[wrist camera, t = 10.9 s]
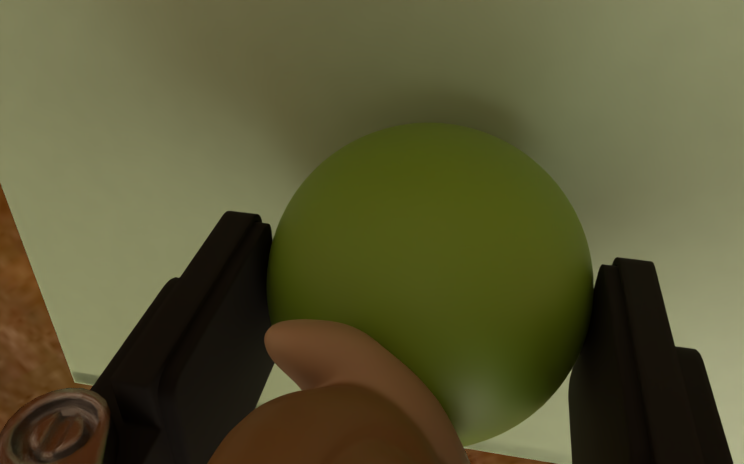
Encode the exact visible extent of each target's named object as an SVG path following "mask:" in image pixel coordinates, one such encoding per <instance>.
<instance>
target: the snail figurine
mask: <svg viewBox="0 0 744 464" xmlns="http://www.w3.org/2000/svg"><path fill="white" fill-rule="evenodd" d="M266 288H267V303H268V310H269V316H270V321H271V325H272V326H271V327H270V328H269V329H268V330H267V332H266V333H265V337H264V343H265V347H266V350H267V352H268V354H269V356H270V357H271V359H272V360H273V361H274V363H275V364H276V365H277V366H278V367H279V368H280V369H281V370H282V371H283V372H284V373H285V374H286V375H287V376H289V377H290V378H291V379H292V380H293V381H294V382H295V383H296V384H297V385H298V387H299V388H300V389H301V391H296V392H292V393H288V394H285V395H282V396H279V397H277V398H275V399H272V400H270V401H268V402H266V403H264V404H262V405H261V406H259V407H257V408H256V409H254V410H253V411H252V412H250V413H249V414H248V415H247V416H246V417H245V418H244V419H243V420H242V421H240V422H239V423H238V424H237V425H236V426H235V427H234V428H233V429H232V430H231V431H230V432H229V433H228V434H227V435H226V437H225V438H224V439H223V440H222V442H221V443H220V445H219V446H218V448H217V449H216V451H215V452H214V454H213V455H212V457H211V458H210V460H209V461H208V463H207V464H470V462H469V459H468V457H467V455H466V452H465V450H464V447H463V446H468V445H472V444H476V443H479V442H482V441H485V440H488V439H491V438H493V437H496V436H498V435H500V434H502V433H504V432H506V431H508V430H510V429H512V428H513V427H515V426H517V425H518V424H520V423H521V422H523V421H524V420H526V419H527V418H529V417H530V416H531V415H532V414H534V413H535V412H536V411H537V410H538V409H540V408H541V407H542V406H543V405H544V404H545V403H546V402H547V401H548V400H549V399H550V398H551V397H552V396H553V394H554V393H555V392H556V391H557V390H558V388H559V387H560V386H561V385H562V383H563V382H564V380H565V379H566V378H567V376H568V374H569V373H570V371H571V369H572V368H573V366H574V364H575V362H576V360H577V358H578V356H579V354H580V352H581V349H582V347H583V344H584V341H585V338H586V335H587V332H588V328H589V324H590V320H591V314H592V308H593V296H594V278H593V267H592V260H591V255H590V250H589V246H588V242H587V239H586V236H585V233H584V230H583V228H582V225H581V223H580V221H579V218H578V216H577V214H576V212H575V210H574V208H573V207H572V205H571V203H570V202H569V200H568V198H567V197H566V195H565V194H564V192H563V191H562V190H561V188H560V187H559V186H558V184H557V183H556V182H555V181H554V180H553V178H552V177H551V176H550V175H549V174H548V173H547V172H546V171H545V170H544V169H543V168H542V167H541V166H540V165H539V164H537V163H536V162H535V161H534V160H533V159H531V158H530V157H529V156H528V155H526V154H525V153H523V152H522V151H521V150H519V149H518V148H516V147H514V146H513V145H511V144H509V143H507V142H505V141H503V140H501V139H499V138H497V137H495V136H493V135H490V134H488V133H485V132H482V131H479V130H476V129H473V128H469V127H465V126H460V125H454V124H446V123H412V124H404V125H398V126H394V127H389V128H386V129H382V130H379V131H376V132H373V133H370V134H368V135H365V136H363V137H361V138H359V139H357V140H355V141H353V142H351V143H349V144H347V145H346V146H344V147H342V148H341V149H339V150H338V151H336V152H335V153H334V154H332V155H331V156H330V157H328V158H327V159H326V160H325V161H323V162H322V163H321V164H320V165H319V166H318V167H317V168H316V169H315V170H314V171H313V172H312V173H311V174H310V175H309V176H308V177H307V178H306V179H305V181H304V182H303V183H302V184H301V185H300V187H299V188H298V189H297V191H296V192H295V194H294V195H293V197H292V198H291V200H290V202H289V203H288V205H287V207H286V209H285V211H284V213H283V215H282V217H281V219H280V221H279V224H278V226H277V229H276V232H275V235H274V238H273V241H272V245H271V249H270V254H269V260H268V267H267V284H266Z"/></svg>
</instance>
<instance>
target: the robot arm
mask: <svg viewBox="0 0 744 464" xmlns="http://www.w3.org/2000/svg"><path fill="white" fill-rule="evenodd" d="M272 241H273V239H272V230H271V226H270V224H268V223H262V219H261V217H260V215H258V214H253V213H245V212H237V211H226V212H225V213H224V214H223V216H222V217H221V218H220V220H219V221H218V223H217V224H216V226H215V227H214V229H213V230H212V232H211V233H210V234H209V236H208V237H207V239H206V240H205V242H204V243H203V245H202V246H201V247H200V249H199V250H198V252H197V253H196V255H195V256H194V258H193V259H192V260H191V262H190V263H189V265H188V266H187V268H186V269H185V271H184V272H183V274H182V275H181V276H180V278H178V277H174V278H172V279H170V280H169V281H168V282H167V283H166V284H165V285H164V286H163V288H162V289H161V291H160V292H159V294H158V295H157V296H156V298H155V299H154V301H153V302H152V303H151V305H150V306H149V308H148V309H147V310H146V312H145V313H144V315H143V316H142V317H141V319H140V320H139V322H138V323H137V325H136V326H135V327H134V329H133V330H132V332H131V333H130V334H129V336H128V337H127V339H126V340H125V341H124V343H123V344H122V346H121V347H120V348H119V350H118V351H117V353H116V354H115V356H114V357H113V358H112V360H111V361H110V363H109V364H108V365H107V367H106V368H105V370H104V371H103V372H102V374H101V375H100V377H99V378H98V379H97V381H96V382H95V384H94V385H93V387H92V388H91V389H90V390H87V389H84V388H66V389H61V390H56V391H51V392H49V393H46V394H44V395H41V396H39V397H37V398H35V399H33V400H32V401H30V402H28V403H27V404H25V405H24V406H22V407H21V408H20V409H19V410H18V411H17V412H16V413H15V414H14V415H13V416H12V417H11V418H10V419H9V420H8V421H7V423H6V424H5V426H4V428H3V429H2V431H1V433H0V464H207V463H208V461H209V460H210V458H211V457H212V455H213V454H214V452H215V451H216V449H217V448H218V446H219V445H220V443H221V442H222V440H223V439H224V438H225V437H226V435H227V434H228V433H229V432H230V431H231V430H232V429H233V428H234V427H235V426H236V425H237V424H238V423H239V422H240V421H242V420H243V419H244V418H245V417H246V416H247V415H248V414H249V413H250V412H252V411H253V410H254V409H255V408H256V405H257V403H258V401H259V398H260V396H261V394H262V391H263V389H264V387H265V384H266V382H267V380H268V377H269V375H270V373H271V370H272V368H273V366H274V361H273V360H272V359H271V357H270V356H269V354H268V352H267V350H266V347H265V343H264V337H265V333H266V332H267V330H268V329H269V328H270V327H271V326H272V325H271V321H270V316H269V310H268V303H267V288H266V284H267V267H268V260H269V254H270V249H271V245H272ZM568 404H569V421H570V437H571V454H572V464H734V463H733V460H732V457H731V453H730V450H729V446H728V443H727V440H726V436H725V433H724V429H723V426H722V423H721V419H720V416H719V412H718V409H717V406H716V402H715V399H714V395H713V392H712V389H711V385H710V382H709V378H708V375H707V372H706V368H705V365H704V361H703V359H702V357H701V354H700V353H699V352H698V351H697V350H696V349H692V348H684V347H677V346H675V344H674V340H673V336H672V332H671V328H670V324H669V320H668V316H667V312H666V308H665V304H664V300H663V296H662V292H661V288H660V284H659V280H658V276H657V272H656V268H655V265H654V263H653V262H652V261H645V260H637V259H629V258H621V257H616V258H615V259H614V261H613V263H612V265H605V264H602V265H601V266H600V268H599V271H598V275H597V278H596V282H595V286H594V296H593V308H592V314H591V320H590V324H589V328H588V332H587V335H586V338H585V341H584V344H583V347H582V349H581V352H580V354H579V356H578V358H577V360H576V362H575V364H574V366H573V368H572V372H571V376H570V380H569V389H568Z"/></svg>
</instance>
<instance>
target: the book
mask: <svg viewBox="0 0 744 464" xmlns="http://www.w3.org/2000/svg"><path fill="white" fill-rule="evenodd" d="M412 123H446V124H454V125H460V126H465V127H469V128H473V129H476V130H479V131H482V132H485V133H488V134H490V135H493V136H495V137H497V138H499V139H501V140H503V141H505V142H507V143H509V144H511V145H513V146H514V147H516V148H518V149H519V150H521V151H522V152H523V153H525V154H526V155H528V156H529V157H530V158H531V159H533V160H534V161H535V162H536V163H537V164H539V165H540V166H541V167H542V168H543V169H544V170H545V171H546V172H547V173H548V174H549V175H550V176H551V177H552V178H553V180H554V181H555V182H556V183H557V184H558V186H559V187H560V188H561V190H562V191H563V192H564V194H565V195H566V197H567V198H568V200H569V202H570V203H571V205H572V207H573V208H574V210H575V212H576V214H577V216H578V218H579V221H580V223H581V225H582V228H583V230H584V233H585V236H586V239H587V242H588V246H589V250H590V255H591V260H592V267H593V278H594V286H595V282H596V278H597V275H598V271H599V268H600V266H601V265H602V264H605V265H612V263H613V261H614V259H615V258H616V257H621V258H629V259H637V260H645V261H652V262H653V263H654V265H655V268H656V272H657V276H658V280H659V284H660V288H661V292H662V296H663V300H664V304H665V308H666V312H667V316H668V320H669V324H670V328H671V332H672V336H673V340H674V344H675V346H677V347H684V348H692V349H696V350H697V351H698V352H699V353H700V354H701V357H702V359H703V361H704V365H705V368H706V372H707V375H708V378H709V382H710V385H711V389H712V392H713V395H714V399H715V402H716V406H717V409H718V412H719V416H720V419H721V423H722V426H723V429H724V433H725V436H726V440H727V443H728V446H729V450H730V453H731V457H732V460H733V463H734V464H744V0H0V183H1V186H2V189H3V191H4V194H5V197H6V199H7V202H8V205H9V207H10V210H11V213H12V215H13V218H14V221H15V223H16V226H17V229H18V232H19V234H20V237H21V240H22V242H23V245H24V248H25V250H26V253H27V256H28V258H29V261H30V264H31V266H32V269H33V272H34V274H35V277H36V280H37V283H38V285H39V288H40V291H41V293H42V296H43V299H44V301H45V304H46V307H47V309H48V312H49V315H50V317H51V320H52V323H53V325H54V328H55V331H56V334H57V336H58V339H59V342H60V344H61V347H62V350H63V352H64V355H65V358H66V360H67V363H68V366H69V368H70V371H71V374H72V376H73V379H74V382H75V383H81V384H87V385H94V384H95V382H96V381H97V379H98V378H99V377H100V375H101V374H102V372H103V371H104V370H105V368H106V367H107V365H108V364H109V363H110V361H111V360H112V358H113V357H114V356H115V354H116V353H117V351H118V350H119V348H120V347H121V346H122V344H123V343H124V341H125V340H126V339H127V337H128V336H129V334H130V333H131V332H132V330H133V329H134V327H135V326H136V325H137V323H138V322H139V320H140V319H141V317H142V316H143V315H144V313H145V312H146V310H147V309H148V308H149V306H150V305H151V303H152V302H153V301H154V299H155V298H156V296H157V295H158V294H159V292H160V291H161V289H162V288H163V286H164V285H165V284H166V283H167V282H168V281H169V280H170V279H172V278H174V277H178V278H180V276H181V275H182V274H183V272H184V271H185V269H186V268H187V266H188V265H189V263H190V262H191V260H192V259H193V258H194V256H195V255H196V253H197V252H198V250H199V249H200V247H201V246H202V245H203V243H204V242H205V240H206V239H207V237H208V236H209V234H210V233H211V232H212V230H213V229H214V227H215V226H216V224H217V223H218V221H219V220H220V218H221V217H222V216H223V214H224V213H225V212H226V211H237V212H245V213H253V214H258V215H260V217H261V219H262V223H268V224H270V226H271V230H272V239H273V238H274V235H275V232H276V229H277V226H278V224H279V221H280V219H281V217H282V215H283V213H284V211H285V209H286V207H287V205H288V203H289V202H290V200H291V198H292V197H293V195H294V194H295V192H296V191H297V189H298V188H299V187H300V185H301V184H302V183H303V182H304V181H305V179H306V178H307V177H308V176H309V175H310V174H311V173H312V172H313V171H314V170H315V169H316V168H317V167H318V166H319V165H320V164H321V163H322V162H323V161H325V160H326V159H327V158H328V157H330V156H331V155H332V154H334V153H335V152H336V151H338V150H339V149H341V148H342V147H344V146H346V145H347V144H349V143H351V142H353V141H355V140H357V139H359V138H361V137H363V136H365V135H368V134H370V133H373V132H376V131H379V130H382V129H386V128H389V127H394V126H398V125H404V124H412ZM571 372H572V369H571V371H570V373H569V374H568V376H567V378H566V379H565V380H564V382H563V383H562V385H561V386H560V387H559V388H558V390H557V391H556V392H555V393H554V394H553V396H552V397H551V398H550V399H549V400H548V401H547V402H546V403H545V404H544V405H543V406H542V407H541V408H540V409H538V410H537V411H536V412H535V413H534V414H532V415H531V416H530V417H529V418H527V419H526V420H524V421H523V422H521V423H520V424H518V425H517V426H515V427H513V428H512V429H510V430H508V431H506V432H504V433H502V434H500V435H498V436H496V437H493V438H491V439H488V440H485V441H482V442H479V443H476V444H472V445H468V446H463V447H464V448H467V449H473V450H479V451H485V452H491V453H497V454H503V455H509V456H515V457H521V458H527V459H533V460H539V461H545V462H551V463H557V464H572V454H571V437H570V421H569V404H568V389H569V380H570V376H571ZM296 391H301V389H300V388H299V387H298V385H297V384H296V383H295V382H294V381H293V380H292V379H291V378H290V377H289V376H287V375H286V374H285V373H284V372H283V371H282V370H281V369H280V368H279V367H278V366H277V365H276V364H275V363H274V366H273V368H272V370H271V373H270V375H269V377H268V380H267V382H266V384H265V387H264V389H263V391H262V394H261V396H260V398H259V401H258V403H257V405H256V408H257V407H259V406H261V405H262V404H264V403H266V402H268V401H270V400H272V399H275V398H277V397H279V396H282V395H285V394H288V393H292V392H296ZM256 408H255V409H256Z"/></svg>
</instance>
